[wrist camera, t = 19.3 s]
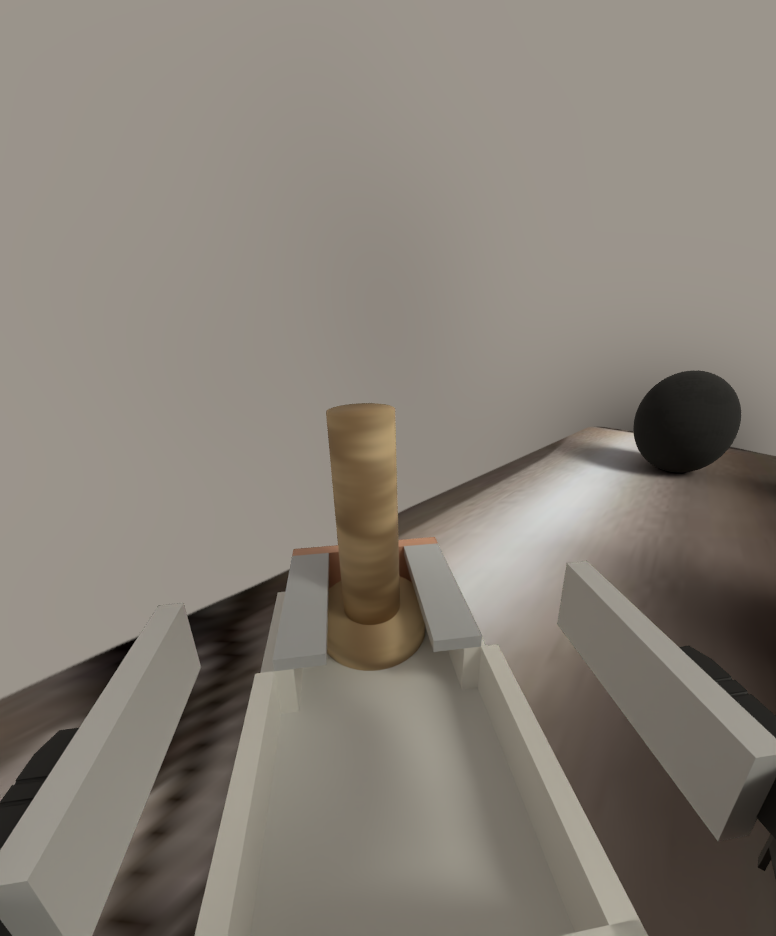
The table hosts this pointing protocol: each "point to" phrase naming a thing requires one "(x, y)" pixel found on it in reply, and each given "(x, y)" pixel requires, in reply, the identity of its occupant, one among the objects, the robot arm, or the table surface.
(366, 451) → the headed peg
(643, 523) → the table surface
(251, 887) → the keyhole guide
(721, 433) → the decorative egg
